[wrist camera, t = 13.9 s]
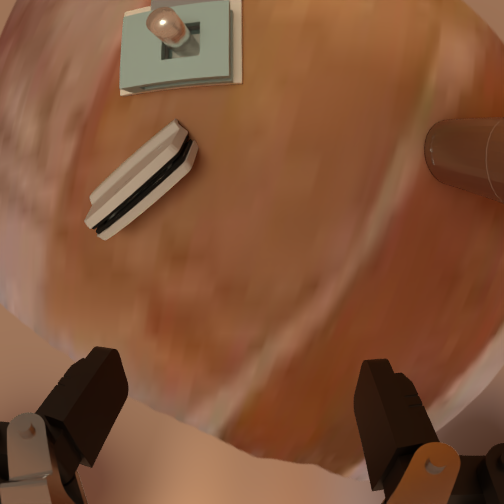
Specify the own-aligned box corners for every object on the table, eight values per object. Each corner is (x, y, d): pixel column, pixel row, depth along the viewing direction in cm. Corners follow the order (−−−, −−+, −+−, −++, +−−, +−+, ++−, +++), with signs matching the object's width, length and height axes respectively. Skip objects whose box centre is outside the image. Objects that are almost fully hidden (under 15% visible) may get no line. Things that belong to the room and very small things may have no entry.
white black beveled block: (178, 116, 37) (169, 134, 29) (200, 143, 39) (199, 169, 31) (91, 193, 41) (67, 229, 33) (112, 215, 43) (94, 254, 35)
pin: (200, 38, 32) (176, 4, 22) (200, 58, 33) (175, 30, 23) (177, 41, 32) (146, 10, 22) (177, 61, 33) (145, 35, 23)
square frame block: (241, -3, 31) (237, -20, 26) (242, 84, 35) (238, 75, 30) (127, 14, 32) (111, 2, 27) (123, 96, 36) (105, 91, 31)
